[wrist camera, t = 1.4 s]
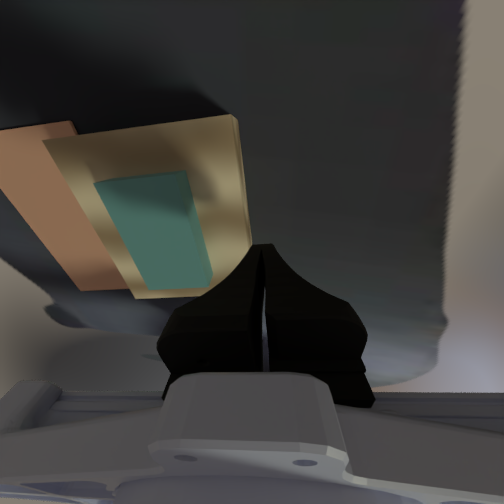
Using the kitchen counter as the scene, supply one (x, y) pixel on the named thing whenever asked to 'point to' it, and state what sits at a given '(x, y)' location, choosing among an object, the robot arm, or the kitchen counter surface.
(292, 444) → the robot arm
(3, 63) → the kitchen counter surface
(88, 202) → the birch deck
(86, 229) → the terracotta mat
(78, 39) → the kitchen counter surface
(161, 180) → the teal rectangular block
